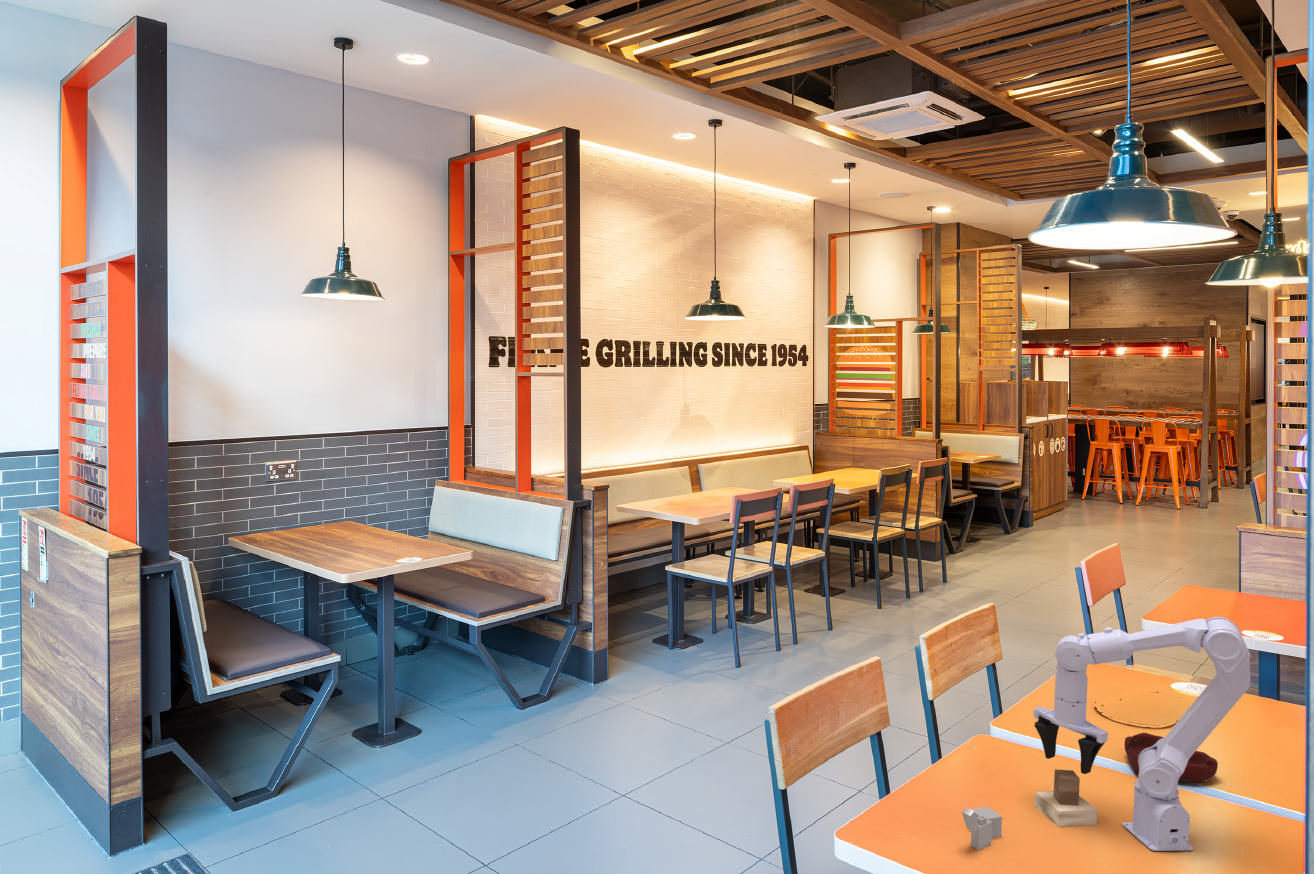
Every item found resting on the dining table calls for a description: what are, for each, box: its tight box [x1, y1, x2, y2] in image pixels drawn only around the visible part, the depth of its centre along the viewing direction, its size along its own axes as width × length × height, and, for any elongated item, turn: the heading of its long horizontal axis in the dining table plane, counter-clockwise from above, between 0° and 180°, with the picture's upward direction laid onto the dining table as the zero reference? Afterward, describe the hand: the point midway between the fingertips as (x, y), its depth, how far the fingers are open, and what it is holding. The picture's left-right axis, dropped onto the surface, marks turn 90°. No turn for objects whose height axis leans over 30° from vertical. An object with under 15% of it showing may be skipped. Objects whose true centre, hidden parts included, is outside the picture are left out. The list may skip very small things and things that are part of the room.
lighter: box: [961, 806, 992, 851], centre depth 156 cm, size 7×2×8 cm, turn 125°
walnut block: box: [1053, 768, 1081, 806], centre depth 167 cm, size 4×4×6 cm
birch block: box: [1034, 790, 1098, 828], centre depth 168 cm, size 8×8×4 cm
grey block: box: [970, 806, 1003, 840], centre depth 161 cm, size 4×4×4 cm
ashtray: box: [1124, 732, 1219, 783], centre depth 188 cm, size 18×16×5 cm
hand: (1067, 764), depth 167 cm, fingers open, 7 cm apart
